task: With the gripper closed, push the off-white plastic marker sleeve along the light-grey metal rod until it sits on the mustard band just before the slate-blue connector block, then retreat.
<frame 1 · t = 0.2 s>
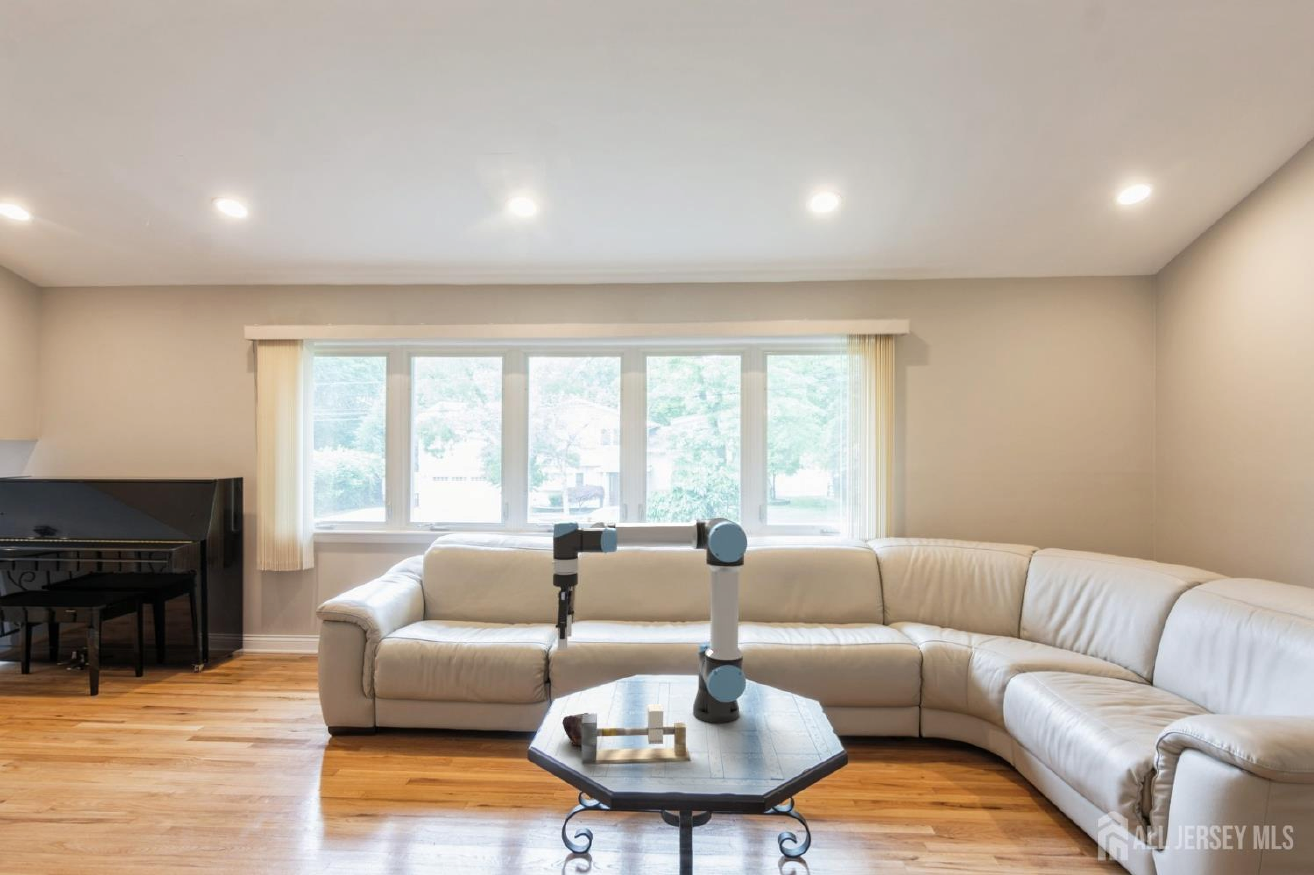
hand: (564, 642, 189), 28 cm above the table, fingers open, 13 cm apart
rock: (578, 743, 184), on the table
sleeve: (655, 723, 176), point 9 cm above the table, slide at 0.0 cm
rail: (635, 756, 175), on the table
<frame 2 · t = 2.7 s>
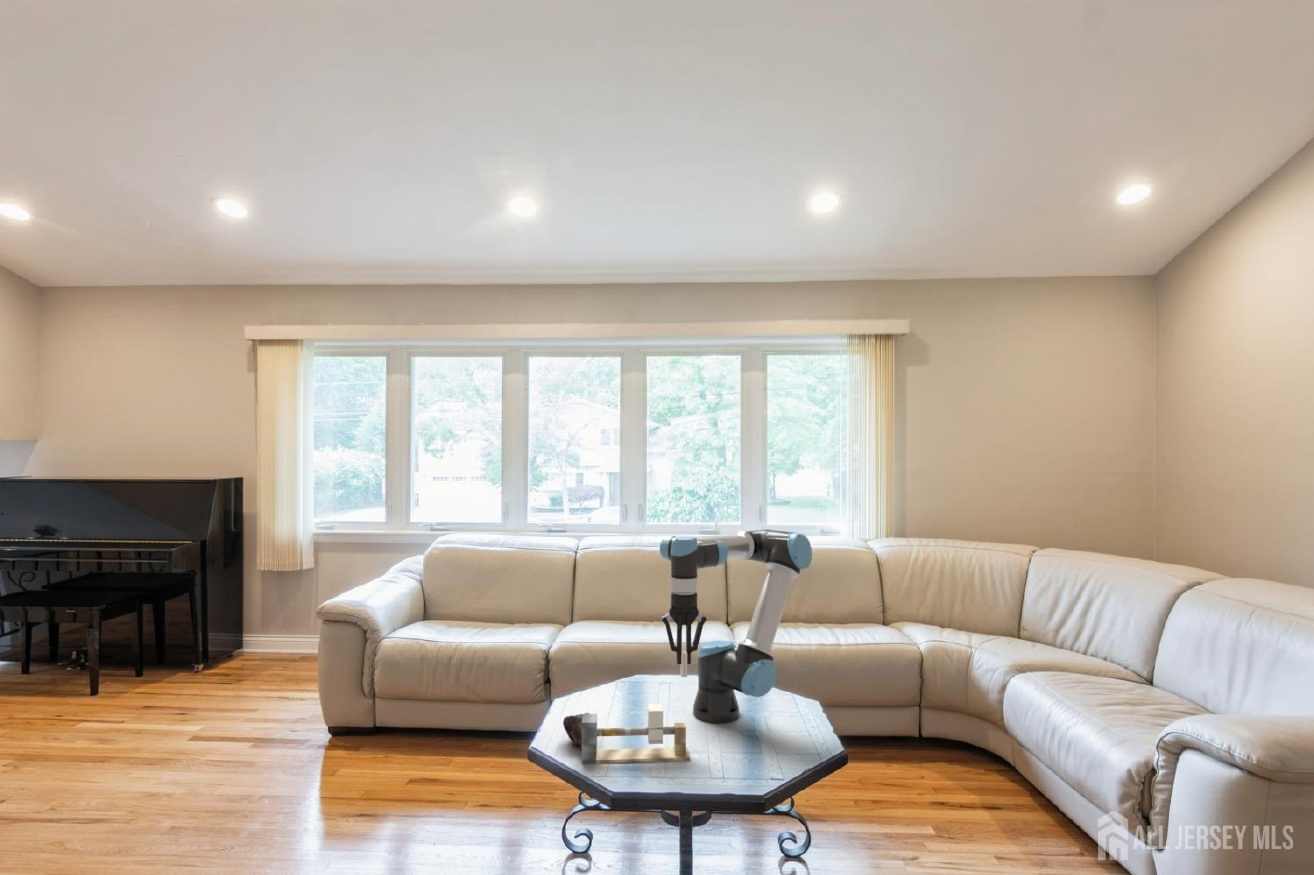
hand: (683, 675, 177), 22 cm above the table, fingers closed
nothing on the table moved.
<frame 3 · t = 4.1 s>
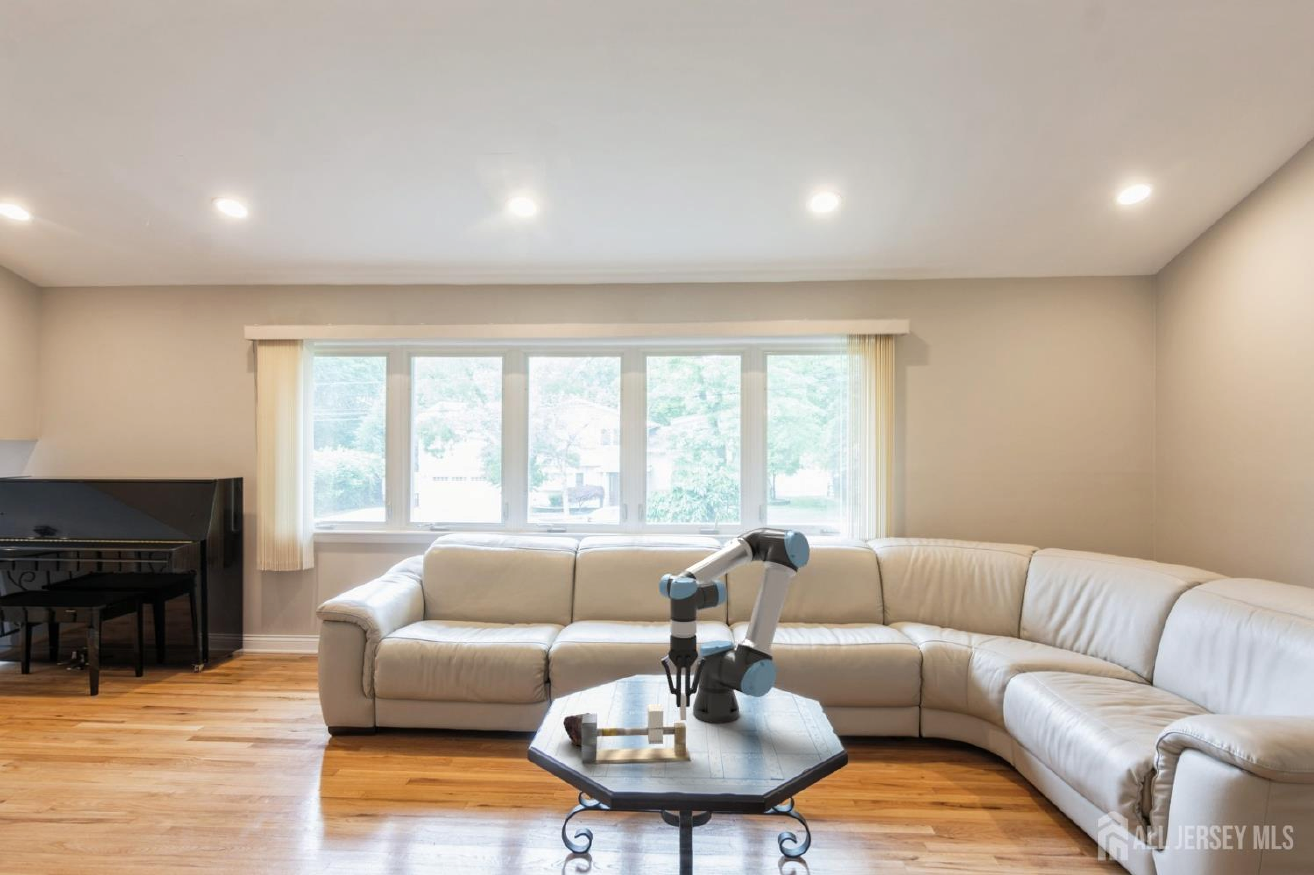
hand: (682, 718, 176), 10 cm above the table, fingers closed
nothing on the table moved.
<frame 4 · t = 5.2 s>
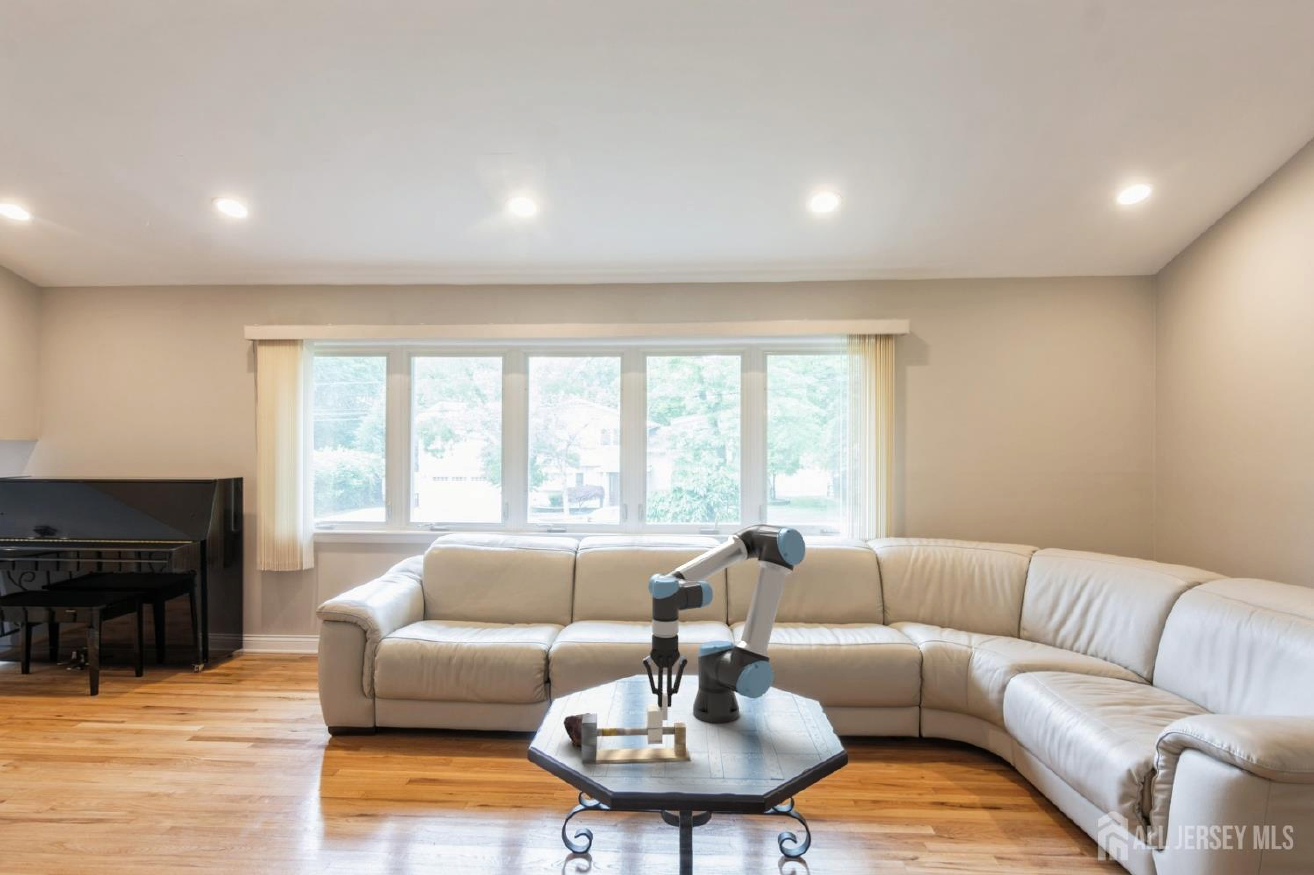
hand: (664, 718, 176), 11 cm above the table, fingers closed
sleeve: (654, 723, 176), point 9 cm above the table, slide at 0.2 cm, touching gripper
everything else where it was.
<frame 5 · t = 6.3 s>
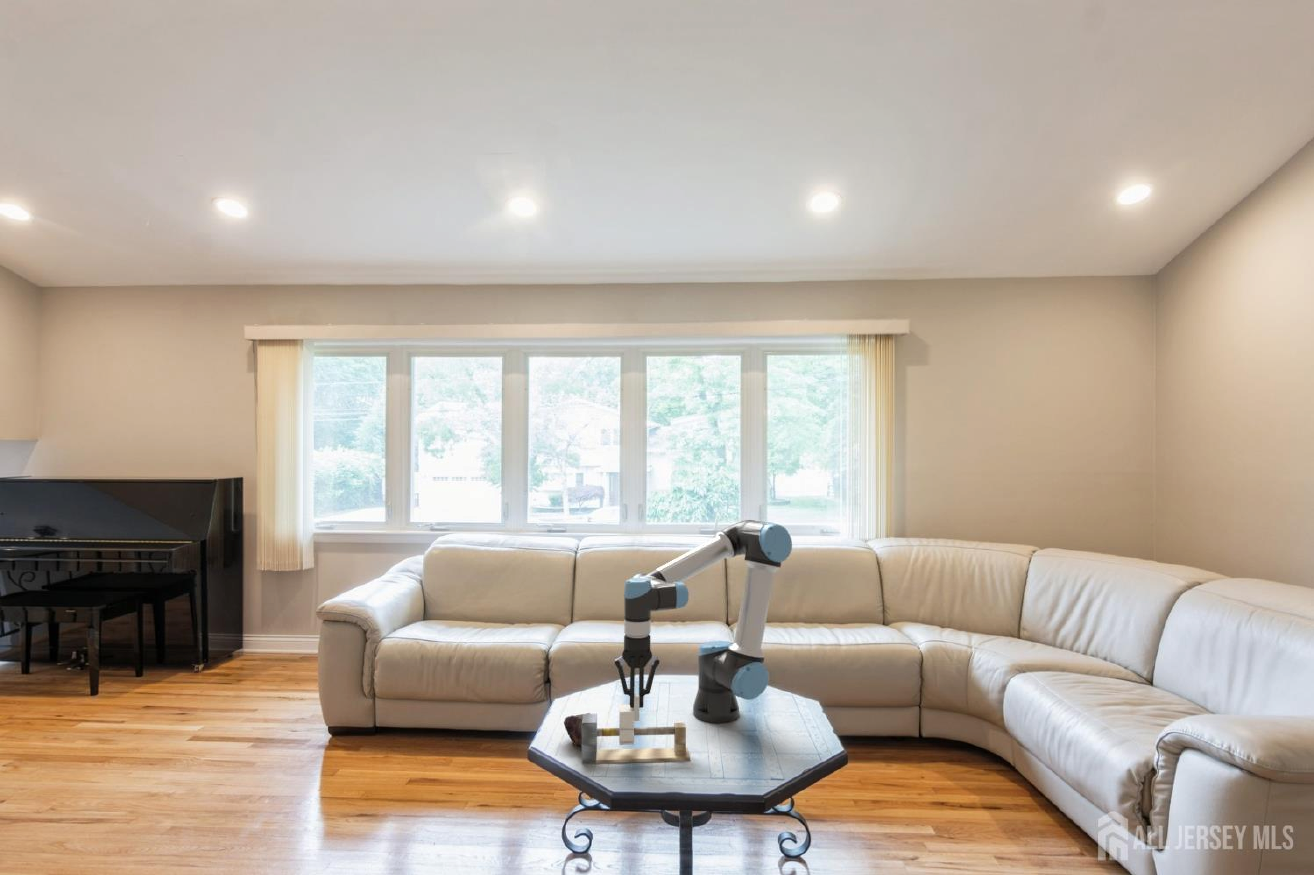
hand: (636, 718, 175), 11 cm above the table, fingers closed
sleeve: (626, 724, 175), point 9 cm above the table, slide at 8.1 cm, touching gripper
everything else where it was.
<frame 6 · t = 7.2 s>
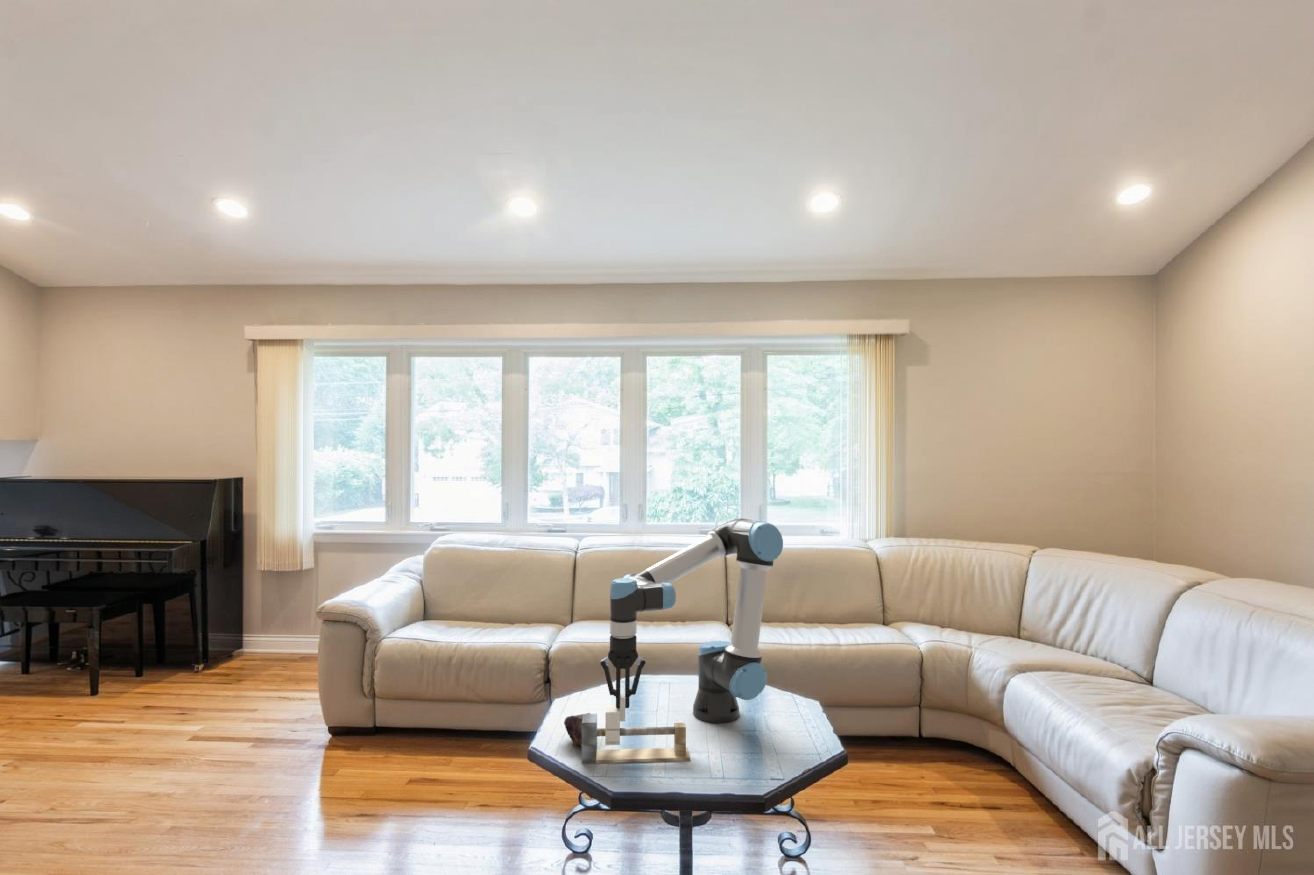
hand: (622, 719, 175), 10 cm above the table, fingers closed
sleeve: (612, 724, 175), point 9 cm above the table, slide at 12.0 cm, touching gripper
everything else where it was.
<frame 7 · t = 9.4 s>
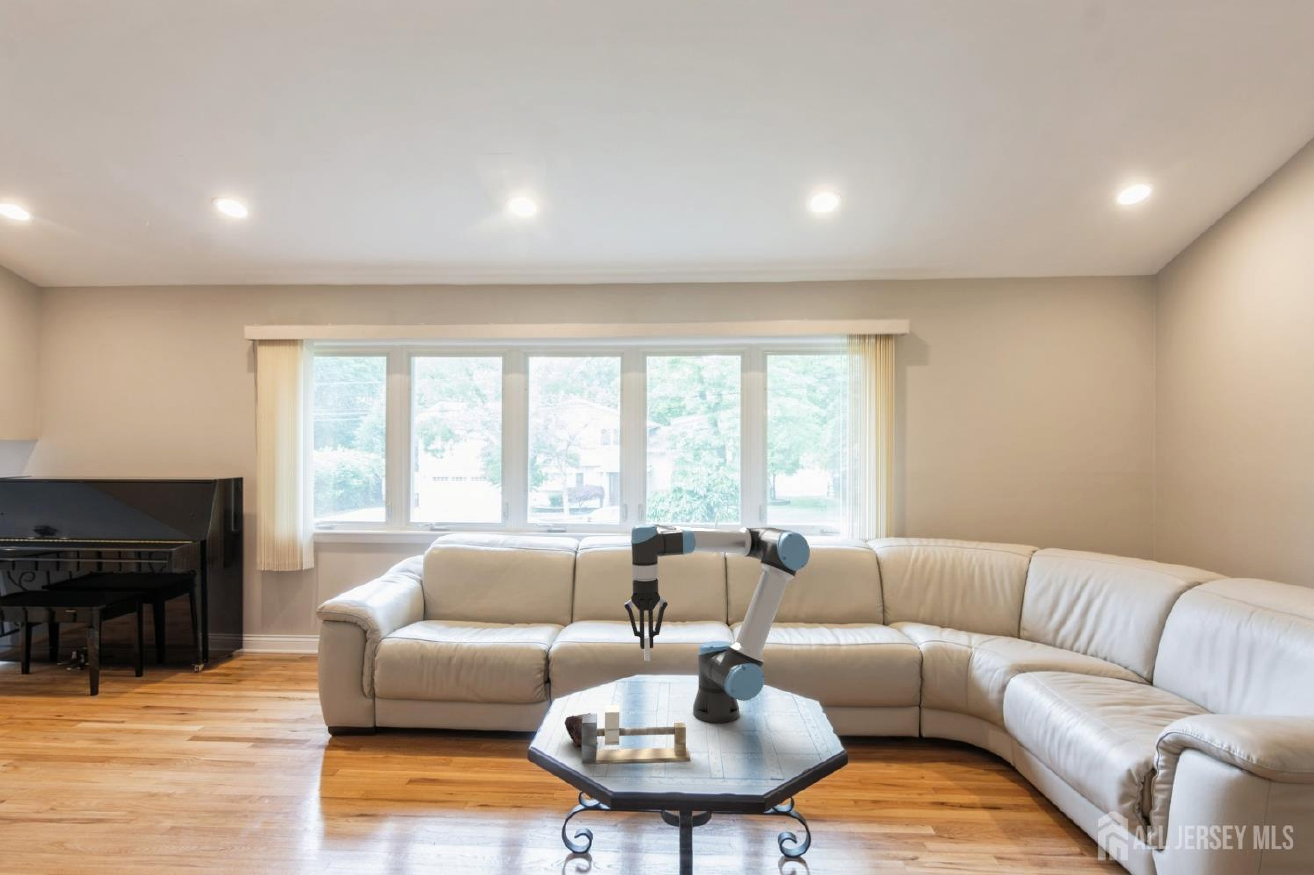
hand: (647, 659, 181), 25 cm above the table, fingers closed
sleeve: (612, 724, 175), point 9 cm above the table, slide at 12.2 cm
everything else where it was.
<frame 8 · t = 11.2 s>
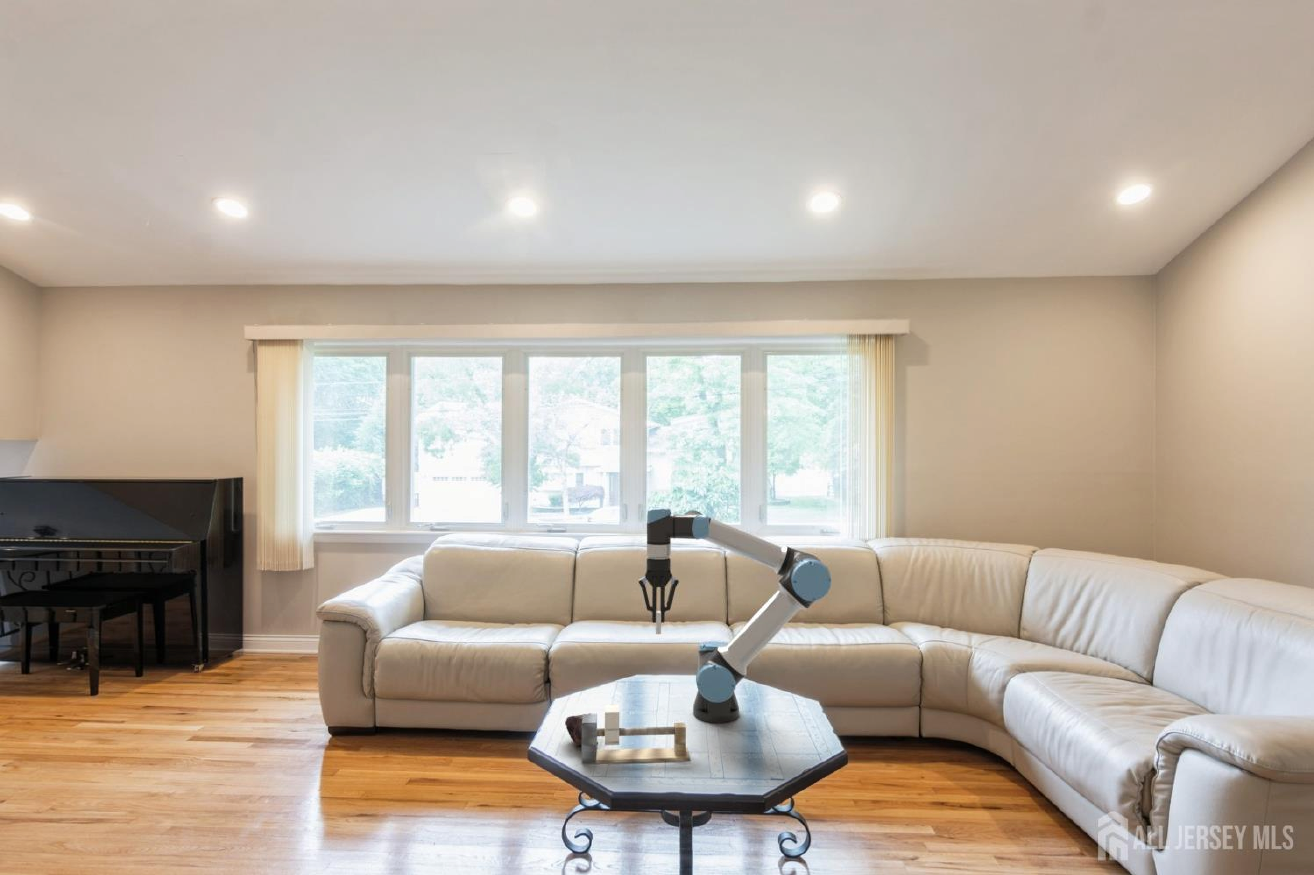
hand: (658, 632, 194), 29 cm above the table, fingers closed
nothing on the table moved.
at the end: sleeve slide at 12.2 cm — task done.
